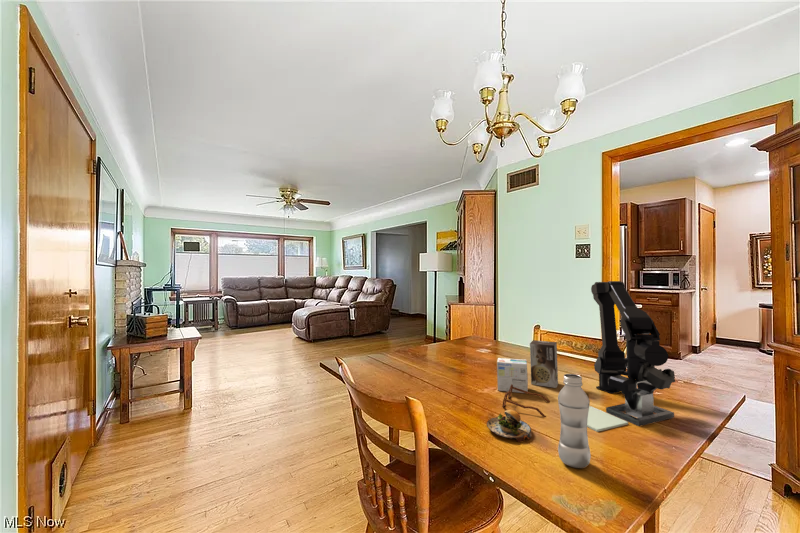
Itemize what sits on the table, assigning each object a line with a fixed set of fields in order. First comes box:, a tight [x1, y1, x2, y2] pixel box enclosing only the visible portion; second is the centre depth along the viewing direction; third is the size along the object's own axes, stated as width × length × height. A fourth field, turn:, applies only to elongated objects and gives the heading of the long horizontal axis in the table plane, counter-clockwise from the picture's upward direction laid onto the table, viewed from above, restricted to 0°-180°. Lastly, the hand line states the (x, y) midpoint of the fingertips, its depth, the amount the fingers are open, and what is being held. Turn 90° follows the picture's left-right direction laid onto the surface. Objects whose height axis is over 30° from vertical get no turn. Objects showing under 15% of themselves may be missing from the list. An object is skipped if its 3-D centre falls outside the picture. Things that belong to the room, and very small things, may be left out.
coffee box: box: [529, 339, 559, 389], centre depth 128 cm, size 9×6×16 cm
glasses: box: [501, 384, 551, 418], centre depth 108 cm, size 13×13×5 cm
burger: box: [486, 409, 533, 444], centre depth 91 cm, size 12×12×8 cm
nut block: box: [624, 387, 655, 418], centre depth 100 cm, size 5×5×7 cm
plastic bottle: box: [557, 373, 592, 469], centre depth 75 cm, size 6×7×20 cm
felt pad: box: [587, 405, 629, 433], centre depth 98 cm, size 12×12×1 cm
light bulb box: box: [496, 357, 529, 394], centre depth 123 cm, size 11×7×11 cm, turn 71°
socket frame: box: [605, 402, 675, 427], centre depth 100 cm, size 10×15×2 cm, turn 110°
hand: (639, 408), depth 100 cm, fingers closed on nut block, 5 cm apart
